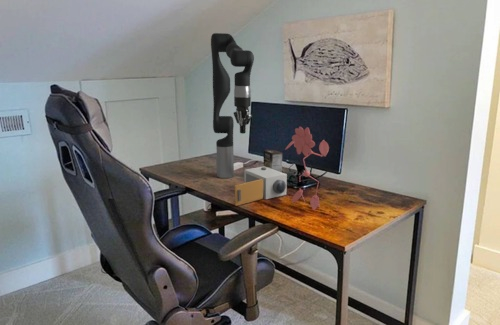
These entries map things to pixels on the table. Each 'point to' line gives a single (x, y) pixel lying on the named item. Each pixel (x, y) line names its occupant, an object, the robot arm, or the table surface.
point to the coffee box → (273, 159)
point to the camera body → (268, 180)
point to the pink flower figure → (304, 145)
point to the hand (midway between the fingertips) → (242, 133)
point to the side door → (249, 192)
